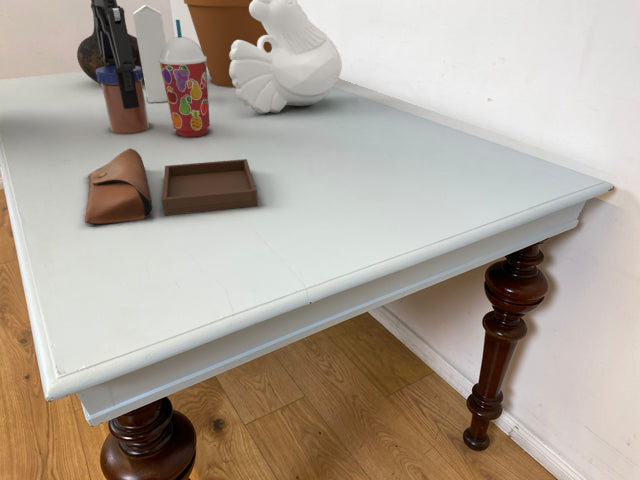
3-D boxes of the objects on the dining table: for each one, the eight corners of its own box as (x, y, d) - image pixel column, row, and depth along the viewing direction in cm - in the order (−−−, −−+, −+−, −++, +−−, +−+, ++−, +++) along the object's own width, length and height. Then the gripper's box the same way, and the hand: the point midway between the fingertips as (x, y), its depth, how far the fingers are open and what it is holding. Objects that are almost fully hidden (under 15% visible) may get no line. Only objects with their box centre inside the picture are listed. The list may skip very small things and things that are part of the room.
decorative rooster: (334, 65, 118) (266, -24, 106) (364, 63, 104) (290, -40, 92) (264, 137, 117) (187, 55, 105) (285, 145, 103) (200, 51, 91)
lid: (144, 74, 95) (142, 64, 94) (141, 82, 88) (139, 72, 87) (101, 75, 93) (98, 65, 92) (94, 84, 86) (91, 73, 86)
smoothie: (214, 125, 97) (202, 17, 87) (215, 138, 90) (202, 21, 80) (171, 127, 96) (154, 17, 86) (169, 141, 89) (150, 23, 79)
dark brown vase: (157, 75, 141) (140, -35, 126) (146, 88, 125) (125, -35, 111) (94, 76, 138) (68, -36, 124) (75, 90, 123) (44, -35, 109)
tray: (164, 215, 63) (161, 199, 61) (167, 179, 73) (165, 165, 72) (257, 205, 65) (256, 190, 64) (247, 172, 75) (246, 158, 74)
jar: (109, 134, 92) (96, 77, 86) (113, 124, 98) (101, 70, 92) (148, 132, 93) (138, 75, 88) (150, 121, 99) (141, 68, 94)
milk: (148, 103, 113) (128, -2, 101) (148, 97, 118) (130, -4, 106) (175, 101, 114) (158, -3, 103) (174, 95, 119) (158, -5, 108)
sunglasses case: (84, 173, 73) (100, 134, 72) (131, 189, 77) (146, 152, 75) (83, 225, 59) (102, 178, 57) (140, 241, 63) (160, 197, 61)
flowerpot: (269, 67, 151) (264, -18, 139) (313, 84, 130) (312, -14, 119) (181, 76, 139) (168, -16, 127) (214, 96, 118) (202, -11, 106)
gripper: (138, -32, 76) (161, 112, 87) (107, -33, 91) (130, 90, 102) (87, -32, 72) (119, 118, 84) (64, -33, 87) (93, 94, 99)
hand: (125, 102), depth 93 cm, fingers closed on lid, 8 cm apart
